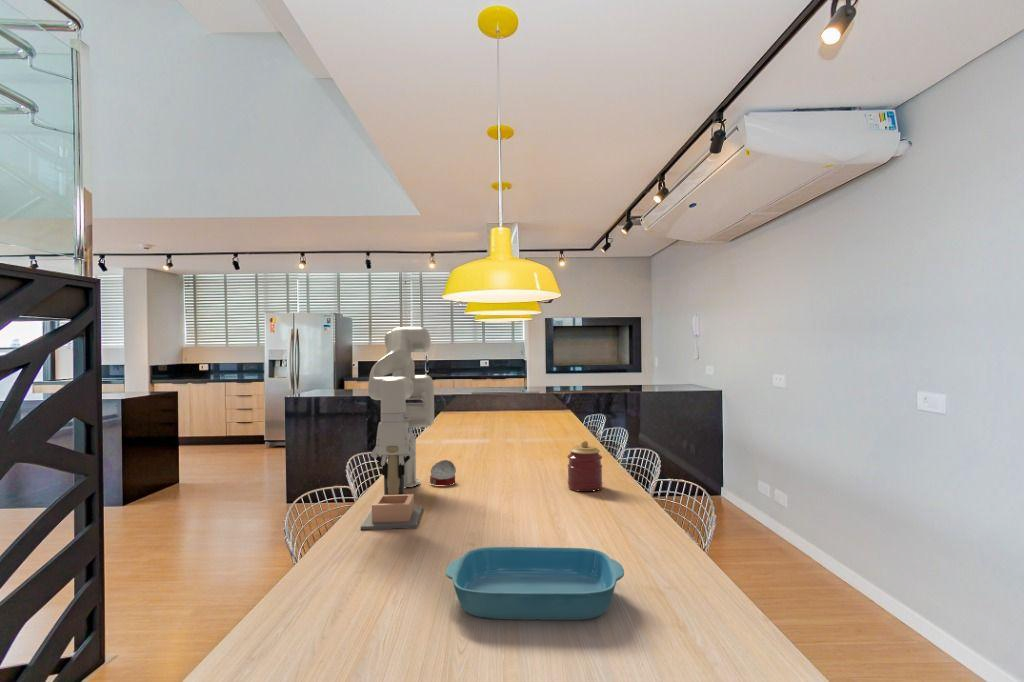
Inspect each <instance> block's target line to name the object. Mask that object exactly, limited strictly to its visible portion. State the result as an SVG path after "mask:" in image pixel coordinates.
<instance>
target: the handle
mask: <svg viewBox="0 0 1024 682" xmlns="http://www.w3.org/2000/svg"><path fill="white" fill-rule="evenodd" d="M386 451H387V452H389V453H395V452H397V451H398V447H386ZM387 464H388V466H387V486H388V489H389V490H388V494H390V495H396V494H398V493H399V489H398V488H399V484H400V478H399V455H390V456H387Z"/></svg>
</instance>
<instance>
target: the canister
mask: <svg viewBox="0 0 1024 682" xmlns="http://www.w3.org/2000/svg"><path fill="white" fill-rule="evenodd" d="M569 452H570V453H569V454H568V455H567V458H568V464H567V466H566V467H567V475H568V476H567V485H568V486H567V488H568V489H569V488H570V490H571V489H573V490H572V491H574V490H579V491H593V490H598V489H601V488H602V489H603V483H604V482H603V464H602V461H601V460H602V458H603V456H602V455H601V454H600V452H601V450H600V449H599V448H598V447H596V446H595V445H589V443H588V441H587V440H582V441H581V443H580V445H574V446H573V447H571V448H570V449H569ZM602 489H601V490H602ZM579 491H578V492H579Z"/></svg>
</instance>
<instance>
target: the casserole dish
mask: <svg viewBox="0 0 1024 682" xmlns="http://www.w3.org/2000/svg"><path fill="white" fill-rule="evenodd" d="M624 575H625V570H624V567H623V565H622V564H621V563H620V562H619V561H617V560H615V559H614V558H611V557H610V556H609V555H608V554H607V553H605V552H603V551H600V550H597V549H593V548H585V547H584V548H582V547H544V546H543V547H542V546H541V547H539V546H537V547H536V546H535V547H533V546H531V547H530V546H524V547H523V546H488V547H487V546H486V547H478V548H473V549H471V550H468V551H466V552H465V553H464V554H463V555H462V556H460V557H458V558H456V559H454V560H452V561H451V562H450V563H448V566H447V568H446V570H445V576H446V577H447V578H448V579H450V580H452V584H453V587H454V590H455V594H456V596H457V599H458V601H459V603H460V606H461V608H462V609H463V610H464V611H465V612H467V613H468V614H469V615H472V616H475V617H478V618H483V617H484V618H485V619H497V620H498V619H501V620H525V621H526V620H529V621H530V620H532V619H533V620H535V619H541V620H542V621H584V620H591V619H595V618H598V617H599V616H601V615H603V614H605V612H606V611H607V610H608V609H609V607H610V604H611V603H612V599H613V595H614V593H615V592H614V591H615V589H616V584H617V581H620V580H621V579H622V578H623V577H624ZM541 620H540V621H541Z"/></svg>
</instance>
